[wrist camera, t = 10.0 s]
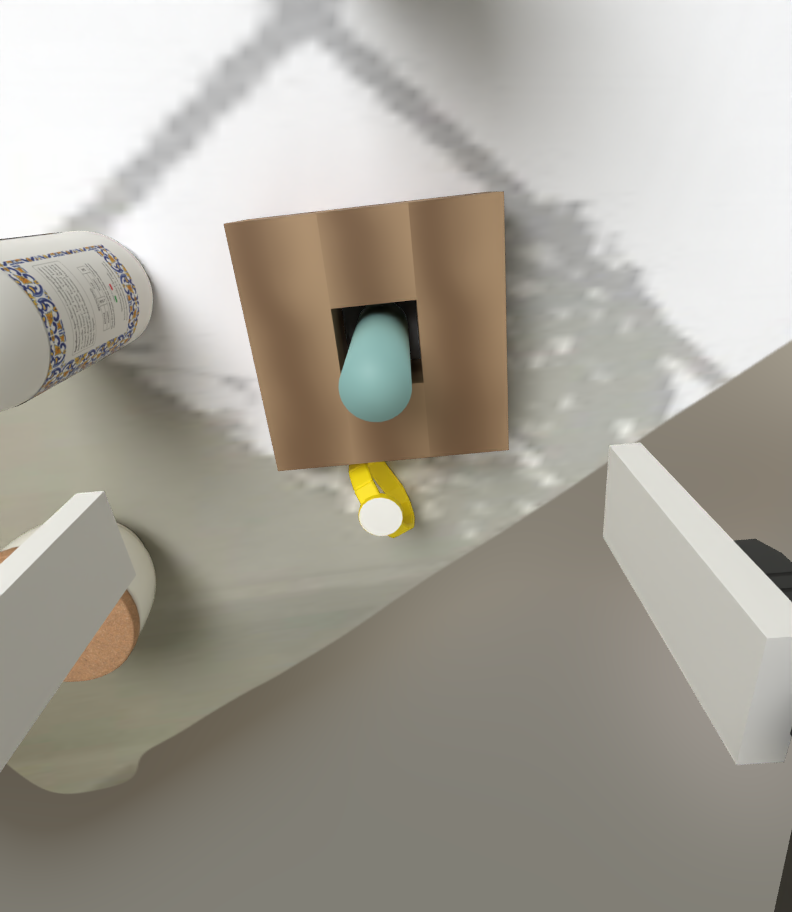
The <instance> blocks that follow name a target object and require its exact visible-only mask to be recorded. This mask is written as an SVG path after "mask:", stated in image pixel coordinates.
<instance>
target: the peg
mask: <svg viewBox="0 0 792 912" xmlns="http://www.w3.org/2000/svg"><path fill="white" fill-rule="evenodd" d="M411 393H412V379H411V363H410V348H409V332H408V320H407V317H406V315H405V313H404V311H403V310H402V309H401V308H400V307H399V306H398V305H397V304H395V303H393V302H390V303H381V304H372V305H367V306H366V307H365V308H364V309H363V310H362V311H361V313H360V315H359V318H358V321H357V324H356V327H355V331H354V334H353V337H352V340H351V343H350V346H349V350H348V353H347V356H346V359H345V362H344V366H343V369H342V372H341V375H340V378H339V394H340V398H341V400H342V402H343V404H344V406H345V407H346V408H347V409H348V411H349V412H351V413H352V414H353V415H354V416H356V417H358V418H360V419H362V420H365V421H369V422H383V421H387V420H390V419H392V418H394V417H396V416H397V415H399V414H400V413H401V412H402V411H403V410H404V409H405V407H406V406H407V404H408V403H409V400H410V398H411Z"/></svg>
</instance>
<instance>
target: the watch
mask: <svg viewBox="0 0 792 912" xmlns="http://www.w3.org/2000/svg"><path fill="white" fill-rule="evenodd" d="M349 476H350V480H351V483H352V486H353V490H355V494H356V496H357V498H358V500H359V502H360V504H361V505H360V509H359V515H358V517H359V522H360V524H361V526H362V527H363V528H364V529H365V530H366V531H367V532H368V533H370V534H372V535H377V536H387V535H388V536H389V537H391V538H395V537H397V536H399V535H401V534H403V533H405V532H406V531H408V530H410V529H412V528H414V523H415V516H414V512H413V509H412V505H411V502H410V501H409V497H408V495H407V493H406V491H405V489H404V487H403V485H402V484H401V483H400V482H399V480H398V479H397V478H396V476H395V475H394V474H393V472H392V471H391V470H390V468H389V467H388V466H387V464H386V463H385V462H384V461H383V462H372V463H361V464H350V465H349ZM372 477H373V478H374V480H375V481H376V482H377V484H378V485H379V486H380V487H381V489H382V490H383V491H384V493H385V494H384V493H380V492H379V490H378V488H377V486H376V484H375V483H374V481H373V478H372Z"/></svg>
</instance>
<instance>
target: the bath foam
mask: <svg viewBox="0 0 792 912" xmlns="http://www.w3.org/2000/svg"><path fill="white" fill-rule="evenodd" d="M152 308H153V293H152V288H151V284H150V281H149V279H148V276H147V274H146V272H145V270H144V269H143V267H142V265H141V264H140V263H139V261H138V260H137V259H136V257H135V256H134V255H133V254H132V253H131V252H130V251H129V250H128V249H126V248H125V247H124V246H123V245H121V244H120V243H118V242H117V241H115V240H113V239H112V238H110V237H107V236H105V235H102V234H99V233H95V232H90V231H69V232H60V233H59V232H57V233H52V234H51V233H49V234H40V235H32V236H24V237H15V238H7V239H0V412H1V411H4V410H7V409H10V408H13V407H16V406H19V405H21V404H23V403H25V402H27V401H28V400H30V399H32V398H34V397H36V396H37V395H39V394H41V393H43V392H44V391H46V390H48V389H50V388H52V387H53V386H55V385H57V384H59V383H60V382H62V381H64V380H66V379H68V378H69V377H71V376H73V375H75V374H76V373H78V372H80V371H82V370H84V369H85V368H87V367H89V366H91V365H93V364H94V363H96V362H98V361H100V360H101V359H103V358H105V357H107V356H109V355H110V354H112V353H114V352H116V351H117V350H119V349H121V348H122V347H124V346H126V345H127V344H129V343H131V342H132V341H134V340H135V339H137V338H138V337H139V336H140V335H141V334H142V333H143V332H144V330H145V329H146V327H147V325H148V323H149V321H150V318H151V314H152Z"/></svg>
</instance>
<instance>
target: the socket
mask: <svg viewBox="0 0 792 912" xmlns="http://www.w3.org/2000/svg"><path fill="white" fill-rule="evenodd" d="M224 228H225V233H226V237H227V242H228V246H229V251H230V255H231V260H232V264H233V269H234V273H235V278H236V282H237V287H238V292H239V296H240V301H241V305H242V310H243V314H244V319H245V323H246V328H247V332H248V337H249V341H250V346H251V350H252V355H253V359H254V364H255V368H256V373H257V378H258V382H259V387H260V391H261V396H262V400H263V405H264V409H265V414H266V418H267V423H268V427H269V432H270V436H271V441H272V445H273V450H274V455H275V459H276V464H277V468H278V471H285V470H296V469H306V468H317V467H328V466H339V465H350V464H361V463H372V462H383V461H394V460H405V459H416V458H427V457H437V456H448V455H459V454H470V453H481V452H492V451H503V450H509V442H508V388H507V334H506V280H505V227H504V192H482V193H473V194H465V195H456V196H447V197H438V198H430V199H421V200H412V201H404V202H395V203H386V204H378V205H369V206H360V207H352V208H343V209H334V210H326V211H317V212H308V213H300V214H291V215H282V216H274V217H265V218H256V219H248V220H242V221H237V222H231V223H226V224H224ZM409 300H416V311H417V322H418V334H419V345H420V356H421V359H411V360H410V363H411V379H412V393H411V398H410V400H409V403H408V404H407V406H406V407H405V409H404V410H403V411H402V412H401V413H400V414H399V415H397V416H396V417H394V418H392V419H390V420H387V421H383V422H369V421H365V420H362V419H360V418H358V417H356V416H354V415H353V414H352V413H351V412H349V411H348V409H347V408H346V407H345V406H344V404H343V402H342V400H341V398H340V394H339V378H340V375H341V372H342V369H343V366H344V362H345V359H346V356H347V353H348V346H347V339H346V333H345V326H344V319H343V312H342V308H343V307H353V306H362V305H372V304H381V303H390V302H400V301H409Z"/></svg>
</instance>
